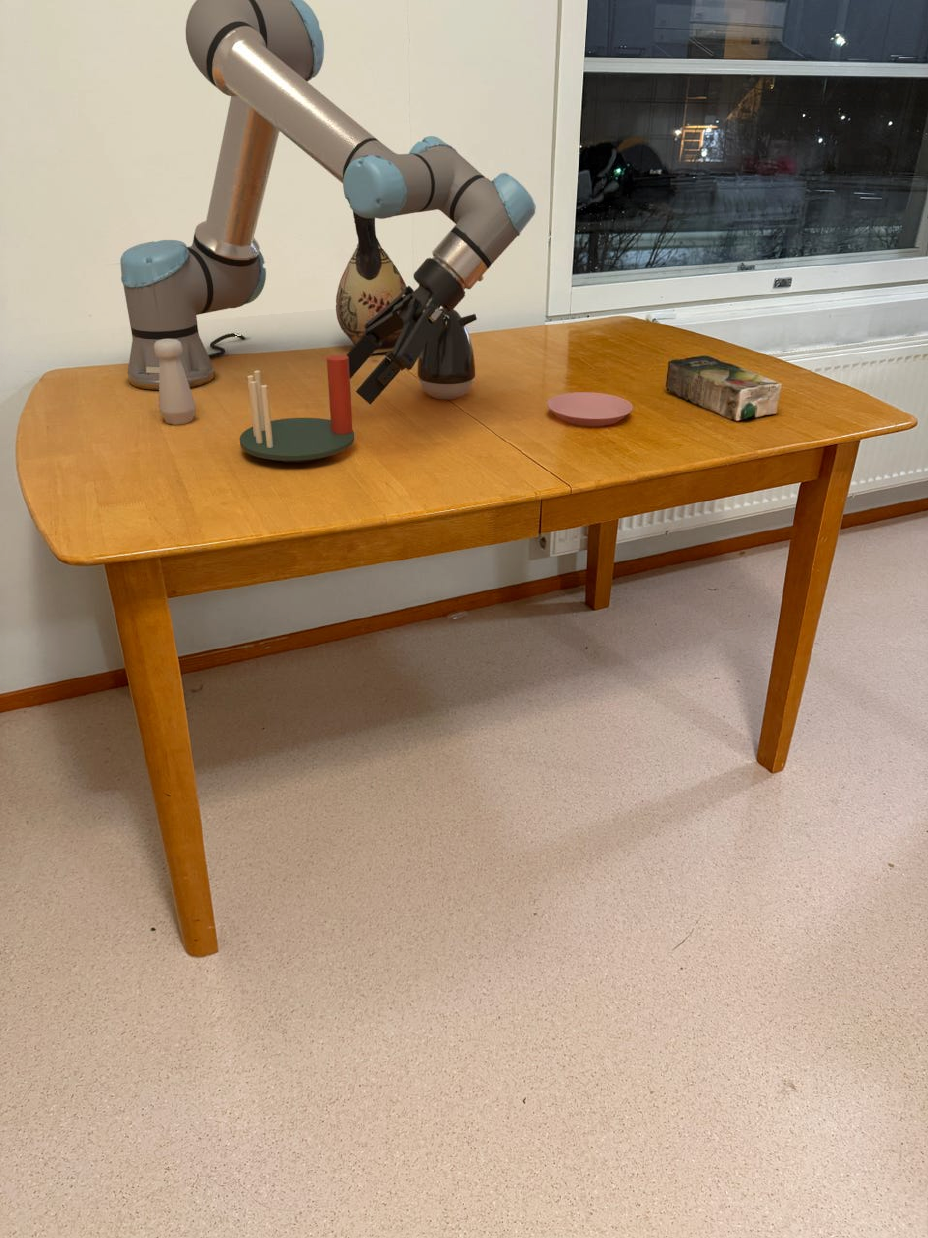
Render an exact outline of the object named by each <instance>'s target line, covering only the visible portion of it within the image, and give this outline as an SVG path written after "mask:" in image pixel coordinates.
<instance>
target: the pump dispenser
mask: <svg viewBox="0 0 928 1238" xmlns="http://www.w3.org/2000/svg"><path fill="white" fill-rule="evenodd" d="M439 309H440V310H441V311H442V312H443V313H444V314H445V317H444V319H443V320H442V321H441V322H440V324H439V325H438V326H437V327H436V329H435V331H434V332H433V334H432V336H431V337H430V339H429V341H428V342H427V344H426V346H425V347H424V349H423V351H422V352H421V354H420V356H419V357H418V359H417V372H416V373H417V377H418V379H419V382H420V385H421V388H422V389H423V390H424V391H423V392H425V393H426V394H427V395H428V396H430V397H432V398H434V399H437V400H443V401H450V400H456V399H459V398H461V397H463V396H465V395H466V394H467V393H468V392H469V390H470V389H471V387H472V385H473V382H474V379H475V378H476V364H475V355H474V349H473V344H472V341H471V336H470V333H469V330H468V328H467V326H466V325H468V324H471V323H473V322H475V321H477V319H478V315H477V314H476V313H473V314H469V315H465V316H461V315H460V313H459V312H458V311H457V310H455V308H454V309H453V310H452V311H446V310H445V309H444V308H443V307H440V308H439Z"/></svg>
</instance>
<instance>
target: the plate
mask: <svg viewBox="0 0 928 1238" xmlns="http://www.w3.org/2000/svg"><path fill="white" fill-rule="evenodd" d="M546 406H547V408H548V409H549V410H550V412H552V413H553V414H554V415H555V417H557V418H558V419H559V420H561V421H563V422H565V423H568V424H571V425H576V426H583V427H604V426H610V425H614V424H616V423H618V422H620V421H621V420H622V419H624V418H625V417H626V416H627V415H629V414H631V412H633V409H634V407H633V404H632V403H631V402H630V401H628V400H627V399H625V398H623V397H620V396H616V395H612V394H609V393H602V392H592V391H591V392H590V391H575V392H574V391H573V392H566V393H561V394H557V395H555V396H554V395H553V396H552V397H551V398H549V399H548V400H547V402H546Z"/></svg>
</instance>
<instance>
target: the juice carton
mask: <svg viewBox="0 0 928 1238" xmlns="http://www.w3.org/2000/svg"><path fill="white" fill-rule="evenodd" d="M782 385H783V383H781V382H779V381H776V380H774V379H771V378H769V377H765V376H764V375H761V374H759V373H756V372H754V371H751V370H749V369H746V368H743V367H740V366H737V365H735V364H732V363H730V362H726V361H722V360H719V359H718V358H715V357H713V356H710V355H706V354H705V355H704V354H703V355H697V356H691V357H686V358H680V359H678V358H677V359H676V358H675V359H672V360H669V361H668V362H667V373H666V382H665V388H666V391H667V392H671V391H673V392H674V394H676V395H677V396H678V397H679V398H683V399H685V400H686V401H690V403H692V404H693V405H698V406H700V407H701V408H702V409H706V410H708V411H711V412H713V413H717V414H718V415H720V416H722V417H724V418H726V419H728V420H734V421H736V422H738V421H742V420H746V419H749V418H751V417H752V418H755V419H757V418H760V417H763V416H768V415H776V414H777V413H778V406H779V402H780V398H781V391H782Z"/></svg>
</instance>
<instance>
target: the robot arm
mask: <svg viewBox="0 0 928 1238" xmlns="http://www.w3.org/2000/svg"><path fill="white" fill-rule="evenodd" d="M185 21H186V22H185V42H186V45H187V50H188V53H189V55H190V59H191V60H192V62H193V63H194V65H195V66H196V68H197V69H198V71H199V72H200V73H201V75H203V77H204V78H205V79H206V80H207V81H208V82H209V83H210V84H211V85H213V86H214V87H215V88H216V89H217V90H219V91H220V92H221V93H222V94H224V95H226V96H229V97H230V100H229V105H228V109H227V115H226V120H225V126H224V130H223V134H222V140H221V145H220V150H219V155H218V161H217V165H216V170H215V174H214V175H215V176H214V180H213V185H212V190H211V195H210V200H209V205H208V210H207V215H206V219H205V221H202V222H200V223H198V224H197V225H196V226H195V230H194V235H193V239H192V243H191V245H190V246H187V244H186V242H184V241H182V240H177V239H162V240H157V241H154V240H153V241H147V242H144V243H140V244H136V245H134V246H130V247H129V248H128V249H125V251H124V252H123V253H122V255H121V257H120V259H119V260H120V261H119V263H120V273H121V274H120V275H121V276H120V280H121V283H122V285H123V292H124V296H125V297H124V298H125V303H126V309H127V315H128V320H129V326H130V332H131V339H132V341H131V348H130V355H129V361H128V367H127V376H128V382H129V384H130V385H131V386H134V387H136V388H139V389H143V390H151V391H159V366H160V357H157V356H156V355H155V351H154V344H155V342H156V341H158V340H161V339H176V340H178V341H180V342H181V345H182V349H183V353H182V355H180V359H181V362H182V366H183V369H184V372H185V375H186V378H187V381H188V384H189V387H190V388H194V387H198V386H202V385H205V384H207V383H209V382H211V381H212V380H214V378H215V370H214V365H213V362H212V360H211V359H214V358H219V357H221V356H223V355H225V354H226V352H227V350H226V349H225V348H224V347H222V346H218V345H217V344H218V343H220V342H222V341H224V340H226V339H229V338H230V339H231V338H238V339H240V340H241V341H245V340H246V337H245V336H244V335H242V334H241V336H237V335H235V334H234V333H235V332H231V334H230V333H227V334H224V335H221V336H219V337H216V338H215V339H214V340H212V341H211V342H210V343H209V347H210V348H211V349H212V350H216V351H217V352H215V353H210V354H208V352H207V349H206V347H205V345H204V343H203V340H202V339H201V336H200V333H199V327H198V318H197V316H198V315H203V314H208V313H212V312H219V311H224V310H229V309H237V308H240V307H243V306H244V305H248V304H250V303H252V302H254V301H255V300H256V299H258V297H259V296H260V295H261V294H262V292H263V290H264V288H265V285H266V278H267V269H266V268H265V267H264V264H265V262H266V261H265V259H264V256H263V254H262V252H261V250H260V249H261V248H260V244H259V242H258V240H257V239H256V238H255V234H256V231H257V226H258V221H259V218H260V215H261V214H260V213H261V210H262V206H263V201H264V198H265V193H266V189H267V184H268V180H269V177H270V172H271V170H272V169H271V168H272V164H273V160H274V156H275V152H276V149H277V143H278V139H279V137H280V133H282V135H284V136H285V137H286V138H287V139H288V140H289V141H291V142H292V143H293V144H295V145H296V146H297V147H298V148H299V149H300V150H302V151H303V152H304V153H305V154H306V155H308V156H309V157H310V158H311V159H312V160H313V161H314V162H316V163H317V164H319V165H320V166H321V167H322V168H323V169H325V170H326V171H327V173H329V174H331V176H333V177H334V178H335V179H337V181H339V182H340V183H341V184H342V190H343V194H344V197H345V199H346V200H347V202H348V205H349V208H350V209H351V210H352V212H353V211H354V212H355V213H356V214H357V215H359V216H361V217H364V218H375V219H379V220H380V219H381V220H383V219H389V218H393V217H399V216H403V215H409V214H415V213H424V212H431V211H437V210H438V211H440V212H441V213H442V214H443V215H444V216H445V217H447V218H448V219H449V220H450V221H451V222H453V223H454V224H455V225H454V226H453V228H451V230H450V231H448V233H446V235H445V236H444V237H443V238H442V239H441V241H440V242H439V243H438V244H437V245H436V247H434V249H433V250H431V253H432V256H433V257H427V258H426V259H425V260H424V261H423V262H422V263H421V264H420V266H419V267H418V268H417V269H416V271H414V273H413V276H412V277H413V280H414V281H415V282H416V283H417V284H418V287H417V288H416V289H413V288H412V287H411V286H410V285H408V286H406V288H405V290H404V291H403V292H402V293H401V294H400V295H399V296H398V297H397V298H396V299H394V300H393V301H392V302H391V303H390V304H389V305H387V306H386V307H385V308H384V309H383V310H382V311H380V312H379V313H378V314H377V315H376V316H375V317H373V318H372V319H371V320H370V321H369V322H367V323H366V324H365V326H364V328H365V329H366V330H365V332H364V334H365V335H363V336H362V337H361V338H360V340H359V341H358V342H357V343H356V344H355V345H354V344H353V346H352V348H351V349H350V350H349V351H348V352H347V354H345V355H346V356H348V357H349V373H350V380H351V379H352V378H353V376H355V374H356V373H357V372H358V371H359V369H361V367H363V365H364V364H365V363H366V362H367V360H368V359H369V358H370V357H372V355H373V354H372V353H373V352H374V351H375V350H376V349H377V348H378V347H381V344H382V340H384V339H385V338H387V337H388V336H390V335H391V334H393V333H394V332H396V331H397V330H399V329H400V328H402V327H403V329H402V331H401V333H400V336H399V338H398V340H397V342H396V344H395V346H394V349H393V351H390V352H386V353H385V354H384V355H385V357H384V358H383V359H381V361H380V362H379V363H378V365H377V366H376V367H375V368H374V369H373V370H372V372H371V373H370V374H369V375H368V376H367V377H366V379H364V381H363V382H362V383H361V384H360V385H359V387H358V388H357V389H355V393H356V394H357V395H358V396H359V397H361V398H362V399H363V400H364V401H365V402H367V404H369V405H372V404H373V403H374V402H375V400H376V399H377V398H378V397H379V396H380V395H381V393H382V392H383V391H384V390H385V389H386V388H387V387H388V386H389V384H390V383H391V382H392V381H393V380H394V379H395V377H397V376H398V374H399V373H400V372H401V371H404V370H405V369H406V370H407V371H410V370H412V369H413V367H414V366H415V364H416V362H418V359H419V356H420V354H421V352H422V351H423V349H424V347H425V346H426V344H427V342H428V341H429V339H430V337H431V336H432V334H433V332H434V331H435V329H436V327H437V326H438V325H439V324H440V322H441V321H442V320H443V319H444V317H445V314H444V313H443V312H442V311H441V310H440V309H441V308H444V309H445V310H446V311H452V310H453V309H454V310H455V308H456V307H457V306H458V305H459V303H461V302H462V300H463V299H464V298H465V297H466V291H465V290H471V289H472V288H473V287H474V286H475V284H477V282H482V281H483V280H484V276H483V275H484V274H485V273H486V272H487V271H488V270H489V269H490V268H491V266H492V265H493V264H494V263H495V261H497V259H498V258H499V257H500V256H501V255H502V254H503V253H504V252H505V250H506V249H507V248H508V247H509V246H510V245H511V244H512V243H513V242H514V241H515V240H516V239H517V237H520V235H521V233H522V232H523V230H524V229H525V228H526V226H527V225H528V224H529V222H530V221H531V220H532V218H533V217H534V216H535V214H536V212H537V205H536V202H535V199H534V198H533V197H532V195H531V194H530V192H529V191H528V190H527V189H526V188H525V186H524V185H523V184H521V183H520V181H519V180H518V179H516V178H515V177H513V176H512V175H510V174H508V172H501V173H499V174H498V175H497V176H496V177H494V178H493V179H492V180H491V179H490V178H489V177H486V176H485V175H484V174H482V173H481V172H480V171H479V170H478V169H477V168H475V167H474V165H472V164H471V163H470V162H469V161H468V160H467V159H465V157H464V156H462V155H461V154H460V153H459V152H458V150H456V148H454V147H453V146H452V145H450V144H448V143H446V142H445V141H443V140H442V139H441V138H439V137H438V136H435V135H429V136H425V137H423V139H422V140H421V141H420V140H419V141H417V142H416V143H414V145H413V146H412V147H411V149H410V150H409V152H408V153H396V152H394V151H393V150H391V149H390V148H389V147H388V146H387V145H385V144H384V143H382V142H381V141H380V140H379V139H377V138H376V137H375V136H374V135H373V134H371V132H369V131H368V130H367V129H366V128H364V127H363V126H362V125H360V123H358V122H357V121H356V120H355V119H354V118H352V117H351V116H350V115H349V114H347V112H345V111H343V110H342V109H341V108H340V107H339V106H337V105H336V104H335V103H334V102H333V101H331V100H330V99H329V98H328V97H327V96H325V95H324V94H323V93H321V92H320V91H319V90H318V89H317V88H316V87H315V86H313V85H312V84H311V83H309V81H311V80H312V79H313V78H316V77H317V75H318V74H319V73H320V71H321V69H322V66H323V63H324V58H325V41H324V36H323V30H321V27H320V22H319V19H318V17H317V15H316V13H315V12H314V10H313V9H312V8H311V6H310V5H309V4H308V3H307V2H306V1H305V0H195V1H194V3H193V4H192V6H191V7H190V9H189V12H188V15H187V18H186V20H185ZM235 336H237V337H235ZM374 343H375V344H376V345H377V346H378V347H377V346H376V345H375V344H374Z"/></svg>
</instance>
